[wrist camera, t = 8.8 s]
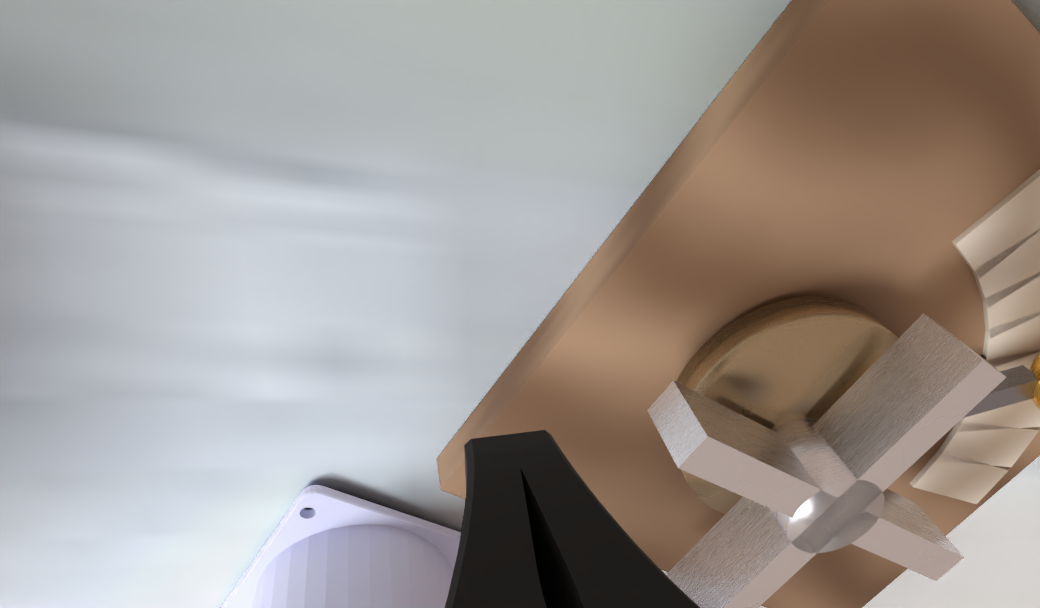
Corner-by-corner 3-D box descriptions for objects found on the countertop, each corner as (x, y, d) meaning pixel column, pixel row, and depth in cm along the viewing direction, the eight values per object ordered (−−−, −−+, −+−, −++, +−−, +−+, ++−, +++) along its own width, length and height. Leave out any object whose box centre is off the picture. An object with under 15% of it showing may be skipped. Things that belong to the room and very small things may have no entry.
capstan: (807, 594, 31) (866, 689, 27) (529, 491, 24) (558, 597, 21) (1092, 336, 26) (1208, 411, 22) (835, 125, 20) (941, 182, 16)
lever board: (816, 603, 34) (835, 635, 33) (436, 458, 25) (441, 494, 24) (1207, 257, 27) (1254, 278, 26) (878, -112, 18) (922, -110, 17)
